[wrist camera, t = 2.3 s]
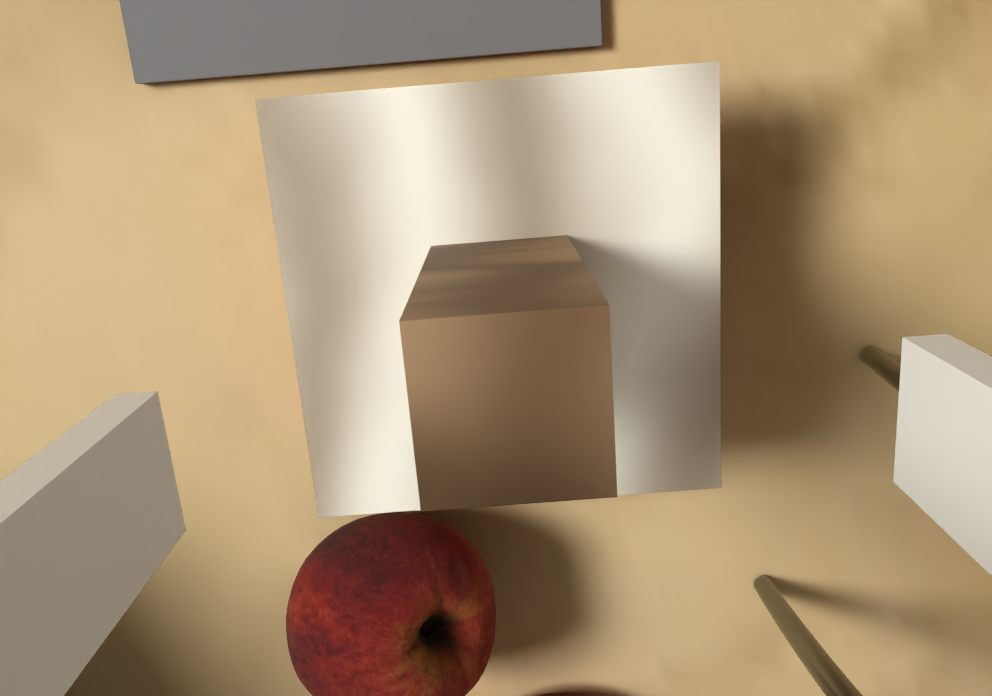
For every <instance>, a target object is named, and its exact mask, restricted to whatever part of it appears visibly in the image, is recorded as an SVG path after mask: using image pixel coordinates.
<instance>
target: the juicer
mask: <svg viewBox="0 0 992 696" xmlns="http://www.w3.org/2000/svg"><path fill="white" fill-rule="evenodd" d="M861 360H862V362H863V363H864V364H866V365H867V366H868V367H869V368H871V369H872V370H873V371H874V372H875V373H877V374H878V375H879V376H880V377H882V378H883V379H884V380H885V381H886V382H888V383H889V384H890V385H891V386H892V387H894V388H895V389H896V390H897V391H898V392H899V384H900V368H901V364H899V363H898V362H896V361H895V360H893V359H892V358H890V357H889V356H887V355H886V354H884V353H883V352H881V351H880V350H878V349H877V348H875V347H872V346H868V347H866V348H864V349H863V350H862V352H861ZM754 588H755V590H756V591H757V593H758V595H759V596H760V598H761V600H762V601H763V603H764V605H765V606H766V608H767V609H768V611H769V613H770V614H771V616H772V617H773V619H774V620H775V622H776V624H777V625H778V627H779V628H780V630H781V631H782V633H783V634H784V636H785V637H786V639H787V640H788V642H789V643H790V645H791V646H792V648H793V649H794V651H795V652H796V654H797V655H798V657H799V658H800V660H801V661H802V663H803V664H804V666H805V667H806V668H807V670H808V671H809V673H810V674H811V676H812V677H813V678H814V680H815V681H816V683H817V684H818V685H819V687H820V688H821V690H822V691H823V692H824V694H825V695H826V696H862V694H861V693H860V692H859V691H858V690H857V689H856V687H855V686H854V685H853V684H852V683H851V682H850V680H849V679H848V678H847V677H846V676H845V674H844V673H843V672H842V671H841V670H840V668H839V667H838V666H837V665H836V664H835V662H834V661H833V660H832V659H831V658H830V656H829V655H828V654H827V653H826V651H825V650H824V649H823V648H822V647H821V645H820V644H819V643H818V642H817V640H816V639H815V638H814V637H813V635H812V634H811V633H810V631H809V630H808V629H807V628H806V626H805V625H804V624H803V623H802V621H801V620H800V619H799V617H798V616H797V615H796V613H795V612H794V611H793V610H792V608H791V607H790V606H789V604H788V603H787V602H786V600H785V599H784V597H783V596H782V595H781V593H780V592H779V591H778V589H777V588H776V587H775V585H774V584H773V582H772V581H771V580H770V578H768V577H766V576H760V577H758V578H757V579H756V580H755V582H754Z"/></svg>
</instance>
